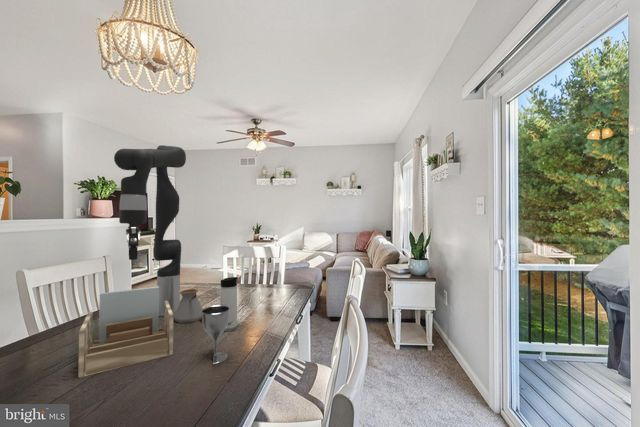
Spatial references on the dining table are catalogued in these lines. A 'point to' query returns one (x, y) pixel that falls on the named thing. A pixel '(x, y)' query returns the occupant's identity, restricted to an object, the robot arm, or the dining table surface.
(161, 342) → the rack
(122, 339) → the offcut
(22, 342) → the dining table surface
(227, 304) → the travel mug
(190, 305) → the coffee pot
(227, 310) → the wine glass
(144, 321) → the offcut
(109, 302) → the blue-grey flat rectangular block
